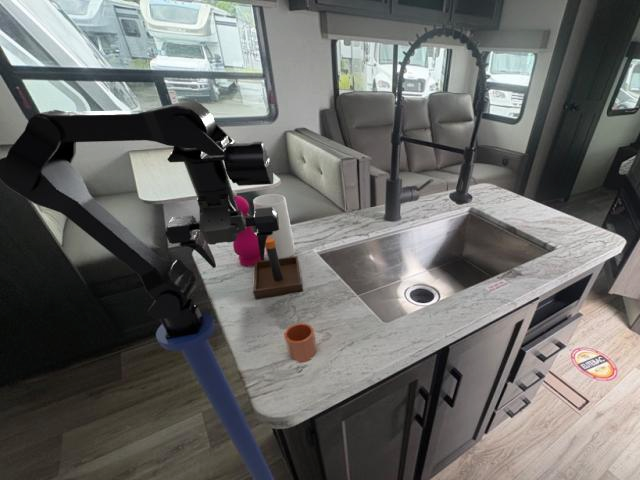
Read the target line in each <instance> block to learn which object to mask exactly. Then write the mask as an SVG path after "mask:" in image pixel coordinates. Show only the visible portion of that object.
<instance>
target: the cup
mask: <svg viewBox="0 0 640 480" xmlns="http://www.w3.org/2000/svg"><path fill="white" fill-rule="evenodd" d="M252 200H253V201H252V203H253V207H254V210H255V209H259V208H268V207H273V208H274V209H276V211H277V214H278V219H279V230H277V231H273V234H272V235H269V236H268V237H267V238H273V239H274V241H275V245H276V251H277V255H278V259H279V258H287V257H293V255H294V254H295V253H296V246H295V240H294V235H293V230H292V225H291V220H290V215H289V209H288V204H287V199H286V197H285V196H284V195H282V194H277V193H272V194H271V193H268V194H262V195H259V196H256V197H254V199H252ZM265 254H266V256H267V257H268V254H267V250H266V248H265Z"/></svg>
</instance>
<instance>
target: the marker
mask: <svg viewBox="0 0 640 480" xmlns="http://www.w3.org/2000/svg"><path fill="white" fill-rule="evenodd" d="M265 248H266V250H267V254H268V256H267V258H268V260H269V262H270V266H271V269H272V273H273V277H274V280H275V281H280V280H282V279H283V276H282V272H281V268H280V264H279V259H278V255H277V251H276V245H275V241H274V239H273V238H267V239H266V243H265ZM266 250H265V251H266ZM267 254H266V255H267Z"/></svg>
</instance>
